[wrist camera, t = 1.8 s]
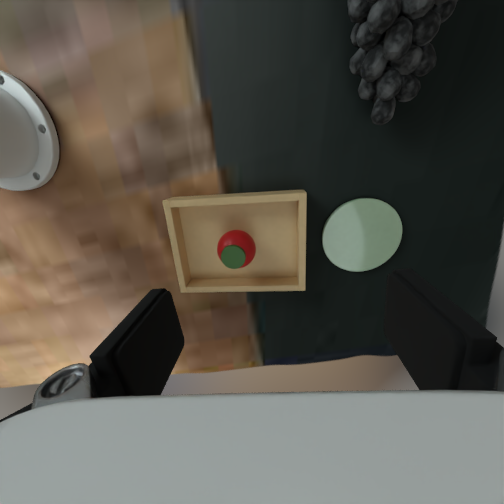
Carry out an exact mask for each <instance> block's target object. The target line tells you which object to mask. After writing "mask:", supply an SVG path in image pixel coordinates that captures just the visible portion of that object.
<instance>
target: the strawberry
mask: <svg viewBox="0 0 504 504" xmlns="http://www.w3.org/2000/svg"><path fill="white" fill-rule="evenodd" d="M217 253H218V257H219V259H220V260H221V262H222V263H223V264H224V265H225V266H226V267H228V268H231V269H238V268H243V267H245V266H247V265H248V264H250V263H251V261H252V260H253V259H254V256H255V253H256V245H255V242H254V240H253V238H252V237H251V236H250V235H249V234H248V233H246V232H245V231H242V230H231V231H228V232H226V233H225V234H224V235H223V236H222V237H221V238H220V240H219V242H218V245H217Z"/></svg>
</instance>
